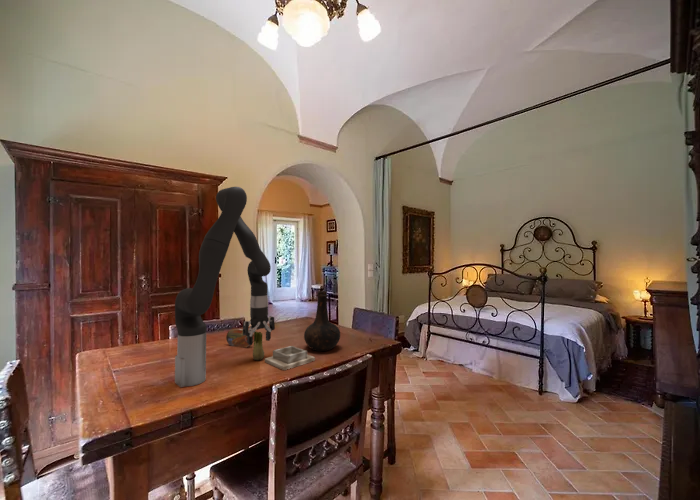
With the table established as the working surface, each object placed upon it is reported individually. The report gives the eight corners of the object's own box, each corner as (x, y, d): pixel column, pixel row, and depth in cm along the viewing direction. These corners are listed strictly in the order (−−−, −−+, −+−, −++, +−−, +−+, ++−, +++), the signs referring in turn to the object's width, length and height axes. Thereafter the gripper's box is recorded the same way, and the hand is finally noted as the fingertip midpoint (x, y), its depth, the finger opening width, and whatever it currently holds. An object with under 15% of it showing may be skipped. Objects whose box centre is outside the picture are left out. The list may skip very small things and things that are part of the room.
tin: (225, 345, 154) (225, 328, 154) (229, 343, 157) (230, 327, 157) (251, 348, 149) (251, 331, 149) (255, 346, 152) (255, 329, 152)
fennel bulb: (252, 357, 135) (252, 330, 136) (263, 356, 137) (264, 329, 137) (252, 362, 130) (253, 333, 130) (264, 360, 132) (265, 332, 132)
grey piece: (283, 370, 121) (283, 359, 121) (264, 362, 130) (264, 351, 130) (314, 360, 132) (315, 350, 132) (295, 353, 142) (295, 343, 142)
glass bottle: (323, 356, 138) (324, 294, 138) (296, 349, 148) (296, 291, 149) (347, 347, 152) (348, 291, 152) (321, 341, 163) (321, 288, 163)
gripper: (248, 308, 126) (248, 348, 126) (277, 304, 137) (278, 340, 137) (239, 306, 132) (239, 344, 131) (268, 302, 142) (268, 337, 142)
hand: (259, 342), depth 134 cm, fingers open, 8 cm apart
